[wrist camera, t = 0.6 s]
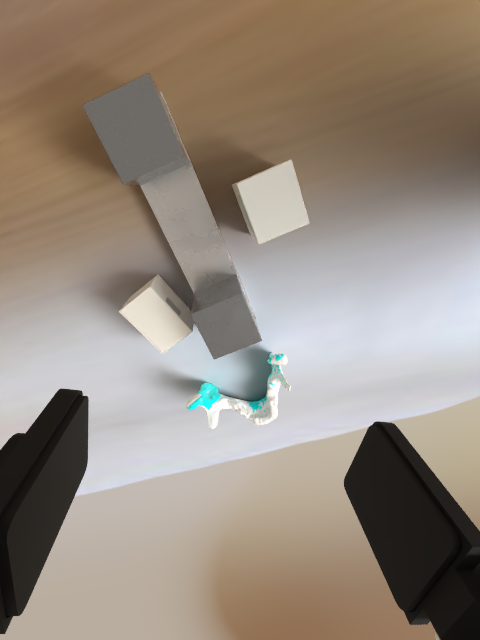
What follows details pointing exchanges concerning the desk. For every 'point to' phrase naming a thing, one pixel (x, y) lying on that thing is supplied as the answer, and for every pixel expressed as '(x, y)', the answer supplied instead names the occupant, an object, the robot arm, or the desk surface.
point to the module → (271, 202)
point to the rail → (176, 207)
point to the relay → (158, 314)
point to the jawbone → (254, 411)
